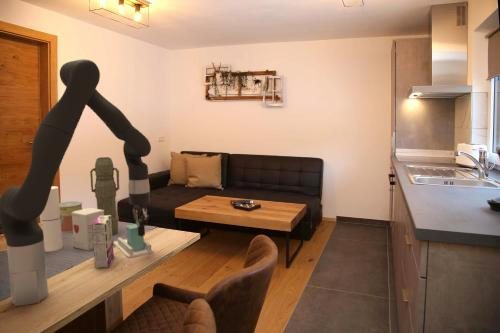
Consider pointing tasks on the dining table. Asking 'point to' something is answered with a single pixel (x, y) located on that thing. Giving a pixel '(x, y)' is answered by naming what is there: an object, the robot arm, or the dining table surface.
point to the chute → (128, 249)
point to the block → (134, 238)
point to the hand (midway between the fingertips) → (141, 235)
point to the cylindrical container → (52, 222)
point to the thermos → (106, 189)
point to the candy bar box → (102, 241)
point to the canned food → (68, 214)
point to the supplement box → (84, 227)
